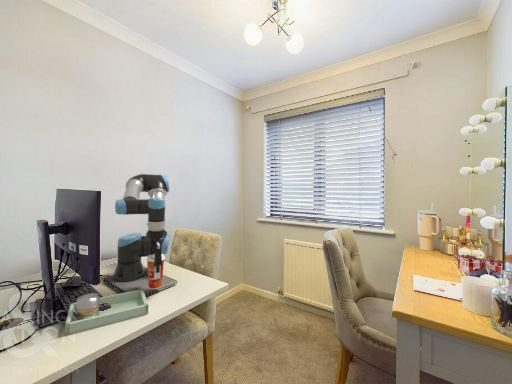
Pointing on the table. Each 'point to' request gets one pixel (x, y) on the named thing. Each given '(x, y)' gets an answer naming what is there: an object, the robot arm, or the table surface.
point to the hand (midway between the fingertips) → (155, 274)
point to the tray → (110, 311)
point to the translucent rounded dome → (88, 306)
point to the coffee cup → (151, 281)
